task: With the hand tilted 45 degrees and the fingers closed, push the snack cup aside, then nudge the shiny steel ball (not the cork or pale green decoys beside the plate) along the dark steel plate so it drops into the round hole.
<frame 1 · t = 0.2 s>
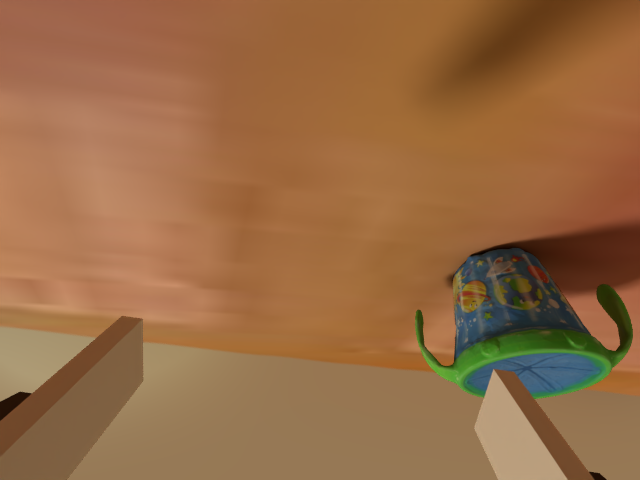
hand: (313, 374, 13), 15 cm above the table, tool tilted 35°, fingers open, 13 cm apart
snack cup: (492, 268, 34), on the table
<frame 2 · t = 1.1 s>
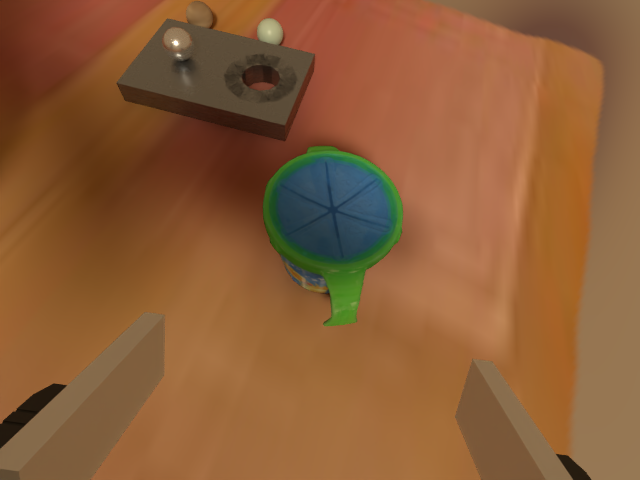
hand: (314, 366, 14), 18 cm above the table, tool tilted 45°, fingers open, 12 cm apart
plate: (224, 84, 46), on the table
snack cup: (322, 260, 36), on the table
steel ball: (178, 44, 42), point 4 cm above the table, touching plate
pale green ball: (270, 33, 48), point 2 cm above the table
cork ball: (199, 16, 49), point 2 cm above the table
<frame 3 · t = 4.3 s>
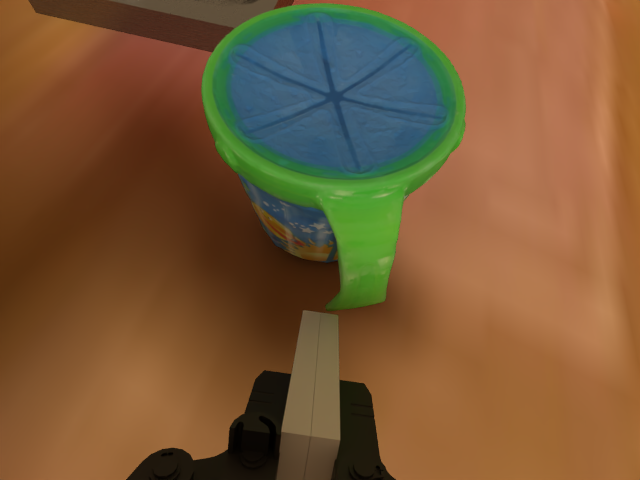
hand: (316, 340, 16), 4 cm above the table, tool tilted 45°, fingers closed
snack cup: (319, 215, 23), on the table, touching gripper
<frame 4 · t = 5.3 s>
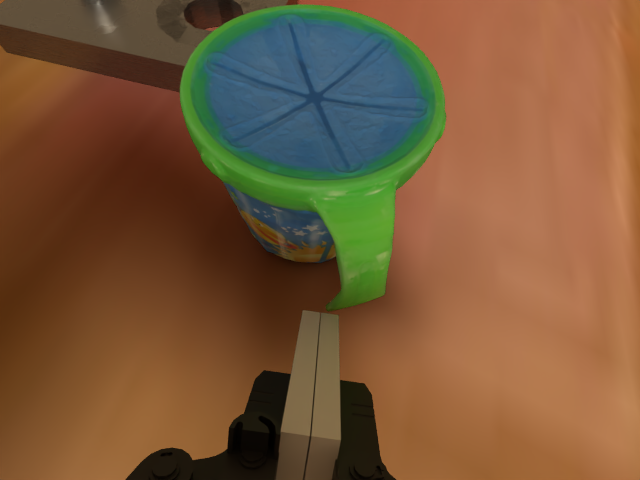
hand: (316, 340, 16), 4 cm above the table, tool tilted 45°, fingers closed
plate: (163, 30, 31), on the table
snack cup: (306, 216, 23), on the table, touching gripper
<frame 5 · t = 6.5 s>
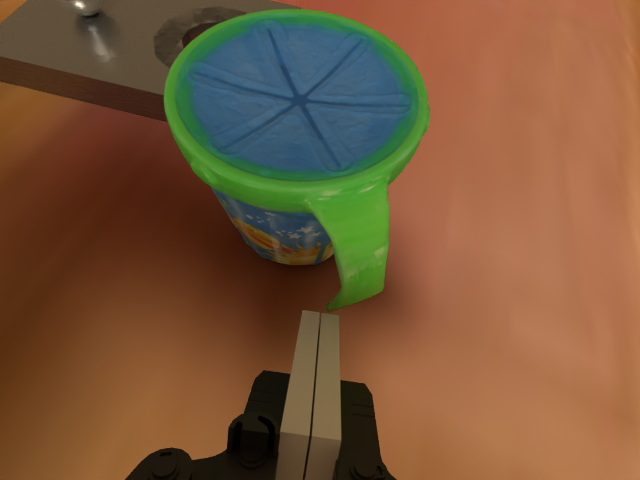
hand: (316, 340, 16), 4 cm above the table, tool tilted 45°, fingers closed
plate: (161, 56, 30), on the table
snack cup: (297, 219, 23), on the table, touching gripper
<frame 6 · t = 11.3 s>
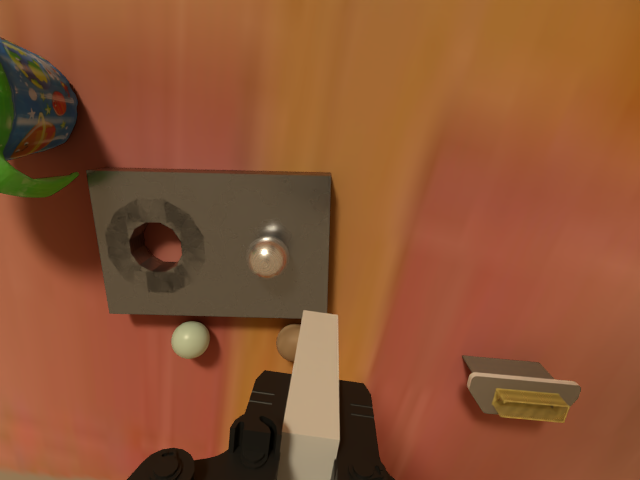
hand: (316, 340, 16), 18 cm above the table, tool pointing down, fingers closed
plate: (221, 240, 34), on the table
snack cup: (39, 103, 31), on the table
steel ball: (267, 257, 29), point 4 cm above the table, touching plate
pale green ball: (190, 339, 35), point 2 cm above the table
cork ball: (294, 342, 35), point 2 cm above the table
platform: (495, 363, 38), on the table
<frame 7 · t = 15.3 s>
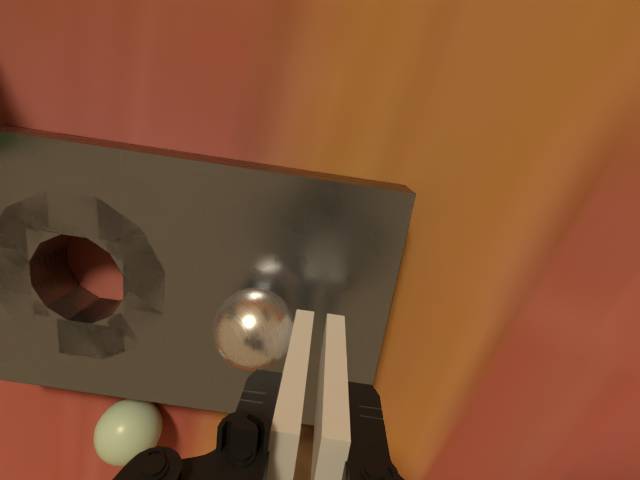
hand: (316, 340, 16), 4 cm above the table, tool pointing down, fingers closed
plate: (198, 275, 20), on the table
steel ball: (254, 328, 16), point 4 cm above the table, tilted 34°, touching gripper, plate
pale green ball: (129, 430, 21), point 2 cm above the table
cork ball: (300, 455, 21), point 2 cm above the table
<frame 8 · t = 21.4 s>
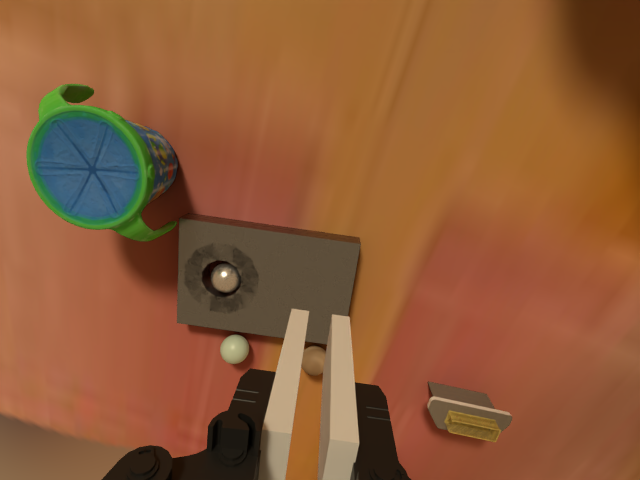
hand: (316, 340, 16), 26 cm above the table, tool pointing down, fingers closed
plate: (268, 276, 44), on the table
snack cup: (147, 161, 40), on the table
steel ball: (226, 277, 42), point 2 cm above the table, tilted 34°
pale green ball: (234, 349, 45), point 2 cm above the table
cork ball: (314, 360, 45), point 2 cm above the table
platform: (453, 390, 48), on the table
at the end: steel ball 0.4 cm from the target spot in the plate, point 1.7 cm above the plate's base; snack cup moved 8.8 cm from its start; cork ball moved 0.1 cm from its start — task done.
